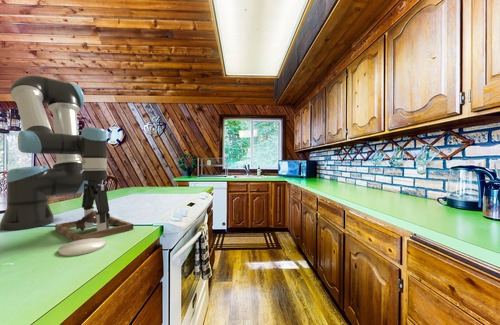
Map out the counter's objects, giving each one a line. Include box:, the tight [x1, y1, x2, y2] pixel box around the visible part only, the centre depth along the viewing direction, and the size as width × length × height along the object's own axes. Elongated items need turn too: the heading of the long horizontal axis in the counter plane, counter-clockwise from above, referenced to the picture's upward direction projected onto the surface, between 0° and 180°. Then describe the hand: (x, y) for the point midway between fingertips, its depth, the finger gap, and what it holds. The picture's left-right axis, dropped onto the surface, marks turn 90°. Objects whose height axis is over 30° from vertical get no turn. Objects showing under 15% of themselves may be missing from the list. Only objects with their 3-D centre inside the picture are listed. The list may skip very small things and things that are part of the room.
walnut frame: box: [54, 216, 134, 242], centre depth 83 cm, size 22×17×2 cm
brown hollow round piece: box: [75, 210, 111, 231], centre depth 83 cm, size 12×10×8 cm
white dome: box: [58, 237, 107, 257], centre depth 66 cm, size 11×11×1 cm
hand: (95, 229), depth 83 cm, fingers open, 11 cm apart
